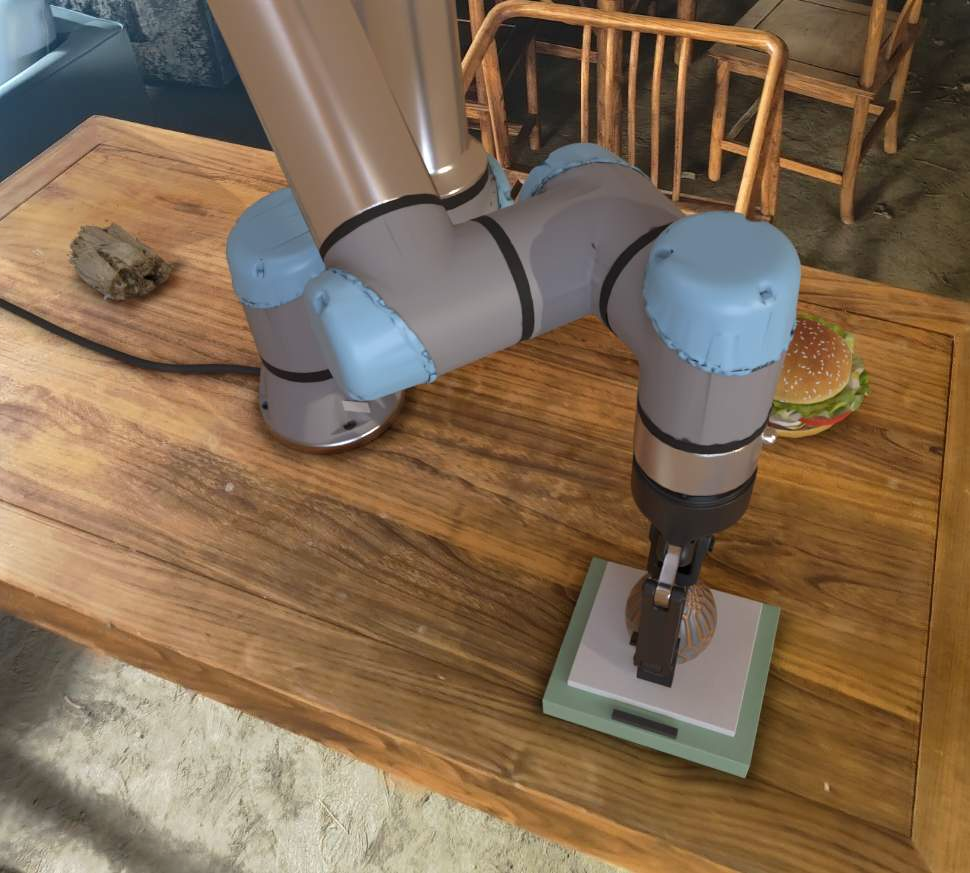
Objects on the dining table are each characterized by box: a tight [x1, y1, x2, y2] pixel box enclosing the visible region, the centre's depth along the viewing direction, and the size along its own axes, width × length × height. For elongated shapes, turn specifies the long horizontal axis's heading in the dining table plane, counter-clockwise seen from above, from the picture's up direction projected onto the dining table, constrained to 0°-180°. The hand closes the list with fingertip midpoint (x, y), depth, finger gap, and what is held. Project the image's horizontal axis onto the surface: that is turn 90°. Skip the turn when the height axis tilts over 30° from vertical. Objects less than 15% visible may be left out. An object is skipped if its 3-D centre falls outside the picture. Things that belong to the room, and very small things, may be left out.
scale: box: [541, 556, 782, 779], centre depth 75 cm, size 16×14×3 cm
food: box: [767, 313, 871, 439], centre depth 91 cm, size 14×14×8 cm
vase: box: [625, 573, 717, 665], centre depth 70 cm, size 7×7×9 cm
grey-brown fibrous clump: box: [65, 219, 175, 304], centre depth 113 cm, size 14×10×5 cm, turn 47°
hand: (666, 636), depth 74 cm, fingers closed on vase, 7 cm apart
